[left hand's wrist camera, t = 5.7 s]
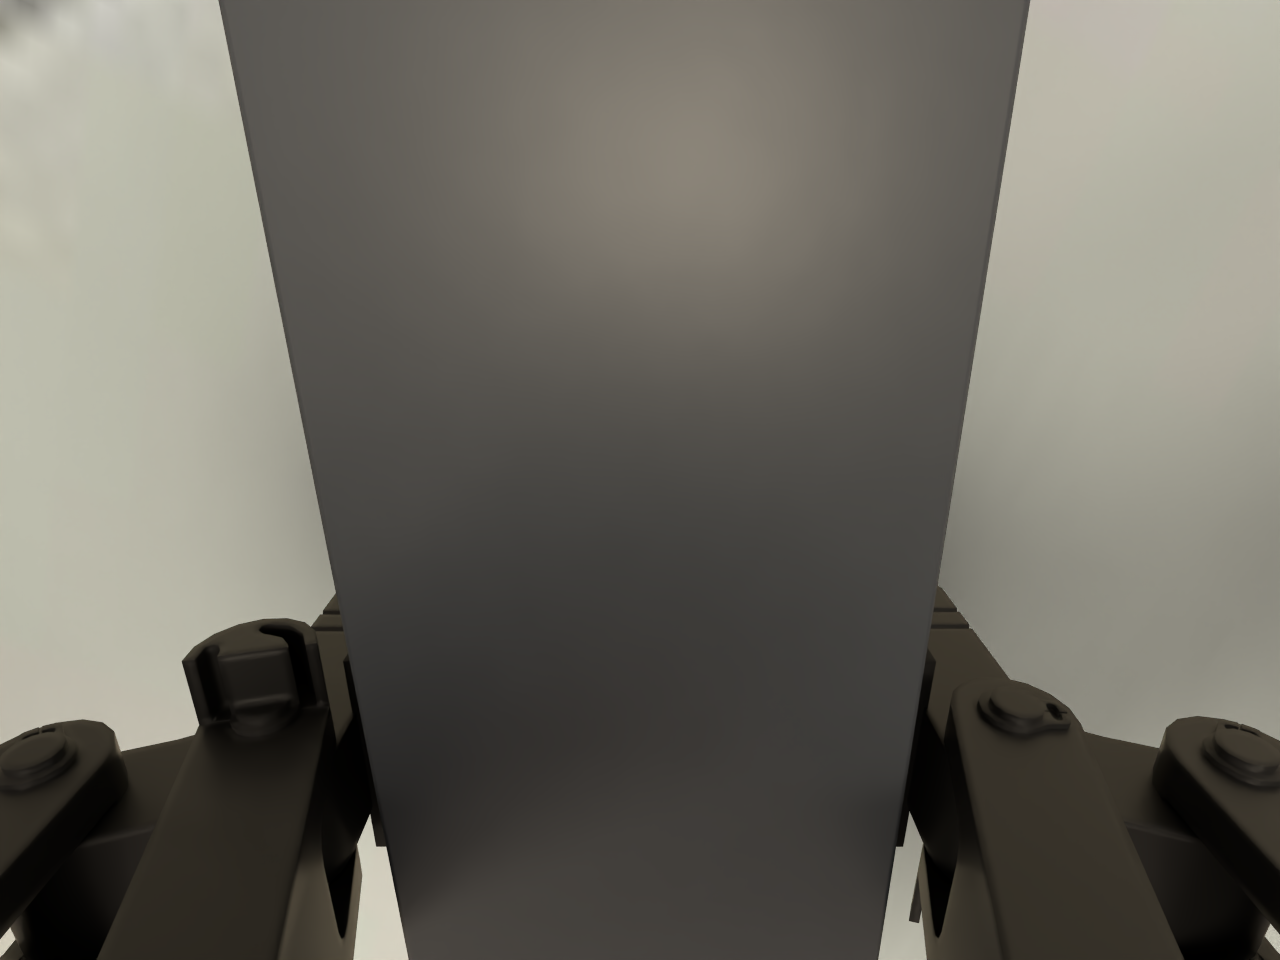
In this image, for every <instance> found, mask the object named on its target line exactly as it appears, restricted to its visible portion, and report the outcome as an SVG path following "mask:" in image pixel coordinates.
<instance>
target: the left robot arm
mask: <svg viewBox="0 0 1280 960" xmlns="http://www.w3.org/2000/svg"><path fill="white" fill-rule="evenodd" d="M182 664H183V668H184V671H185V675H186V678H187V682H188V686H189V689H190V693H191V696H192V700H193V704H194V707H195V711H196V714H197V718H198V722H199V727H198V729H197V732H196V734H195V735H193V736H189V737H186V738H182V739H178V740H174V741H169V742H164V743H160V744H155V745H150V746H145V747H141V748H136V749H131V750H126V751H122V752H121V751H120V748H119V745H118V742H117V739H116V736H115V733H114V731H113V730H112V729H110V728H109V727H108V726H107V725H105V724H104V723H103V722H96V721H89V720H75V721H67V722H59V723H54V724H50V725H45V726H42V727H41V728H39V727H38V728H35V729H32V730H30V731H27V732H24V733H22V734H21V735H19V736H17V737H15V738H13V739H11V740H9V741H7V742H5V743H3V744H1V745H0V939H1V938H2V936H3V935H4V934H5V933H6V932H7V930H8V929H9V928H11V930H12V932H13V934H14V936H15V939H16V940H15V941H14V942H13V943H12V945H11V946H10V947H9V948H8V950H7V951H6V952H5V953H4V955H2V956H1V957H0V960H353V957H354V948H355V938H356V929H357V920H358V910H359V901H360V892H361V882H362V871H361V864H360V858H359V853H358V847H357V843H358V841H359V838H360V836H361V834H362V831H363V829H364V827H365V824H366V822H367V820H368V817H369V815H370V814H371V820H372V825H373V831H374V836H375V842H376V847H382V846H386V842H385V837H384V832H383V827H382V822H381V817H380V812H379V807H378V801H377V796H376V791H375V786H374V781H373V776H372V771H371V766H370V761H369V756H368V751H367V746H366V741H365V736H364V731H363V726H362V721H361V716H360V711H359V706H358V701H357V696H356V691H355V685H354V680H353V675H352V670H351V665H350V660H349V655H348V650H347V645H346V640H345V635H344V630H343V625H342V620H341V615H340V610H339V605H338V600H337V595H336V594H335V595H334V597H333V598H332V599H331V601H330V602H329V603H328V605H327V606H326V607H325V609H324V610H323V615H319V617H318V618H317V620H316V621H315V622H314V624H313V625H312V626H311V627H310V626H309V625H308V624H306V623H305V622H301V621H296V620H292V619H288V618H281V619H262V620H257V621H252V622H248V623H243V624H238V625H236V626H233V627H231V628H228V629H226V630H223V631H221V632H218V633H216V634H214V635H212V636H210V637H209V638H207V639H206V640H204V641H203V642H201V643H200V644H198V645H196V646H195V647H194V648H193V649H192V650H191V651H190V652H189V653H188V655H187V656H186V657H185V658H184V659H183V660H182ZM909 811H910V813H911V815H912V818H913V820H914V822H915V825H916V827H917V829H918V832H919V834H920V836H921V839H922V841H923V847H922V853H921V858H920V863H919V868H918V873H917V879H916V884H915V889H914V894H913V899H912V904H911V911H910V917H909V921H912V922H916V923H919V920H920V915H921V910H922V918H923V927H924V937H925V946H926V955H927V960H1280V954H1279V953H1278V952H1277V951H1276V950H1275V948H1274V947H1273V946H1272V945H1271V944H1270V942H1269V941H1268V940H1267V939H1266V937H1265V934H1266V932H1267V930H1268V928H1269V925H1270V923H1271V925H1272V926H1273V927H1274V928H1275V929H1276V931H1277V932H1278V933H1279V934H1280V741H1279V740H1277V739H1275V738H1273V737H1270V736H1268V735H1266V734H1264V733H1262V732H1260V731H1259V730H1257V729H1255V728H1252V727H1249V726H1246V725H1244V724H1238V723H1237V722H1233V721H1228V720H1224V719H1217V718H1209V717H1200V716H1195V717H1188V718H1181V719H1177V720H1176V721H1174V722H1173V723H1172V724H1171V725H1169V726H1168V727H1167V728H1166V730H1165V733H1164V736H1163V739H1162V742H1161V745H1160V748H1154V747H1150V746H1145V745H1140V744H1135V743H1131V742H1126V741H1121V740H1116V739H1111V738H1107V737H1102V736H1098V735H1095V734H1091V733H1087V732H1084V730H1083V728H1082V726H1081V724H1080V722H1079V721H1078V720H1077V718H1076V717H1075V715H1074V714H1073V713H1072V711H1071V710H1070V709H1069V708H1068V707H1067V706H1065V705H1064V704H1063V703H1061V702H1060V701H1059V700H1057V699H1056V698H1055V697H1053V696H1052V695H1051V694H1048V693H1046V692H1044V691H1042V690H1040V689H1038V688H1035V687H1033V686H1031V685H1029V684H1026V683H1022V682H1018V681H1014V680H1010V679H1009V678H1008V676H1007V675H1006V674H1005V672H1004V671H1003V670H1002V668H1001V667H1000V666H999V664H998V663H997V662H996V660H995V659H994V658H993V656H992V655H991V654H990V652H989V651H988V650H987V648H986V647H985V646H984V644H983V643H982V641H981V640H980V639H979V637H978V636H977V635H976V633H975V632H974V631H973V629H969V624H968V623H967V621H966V620H965V619H964V617H963V616H962V615H961V613H960V612H957V608H956V607H955V605H954V604H953V603H952V601H951V600H950V599H949V597H948V596H947V595H946V593H945V592H944V591H943V589H942V588H940V587H939V586H937V591H936V597H935V603H934V610H933V616H932V622H931V629H930V635H929V641H928V647H927V654H926V660H925V666H924V673H923V679H922V685H921V692H920V698H919V704H918V710H917V717H916V723H915V729H914V736H913V742H912V748H911V755H910V761H909V767H908V774H907V780H906V786H905V792H904V799H903V805H902V811H901V818H900V824H899V830H898V837H897V843H896V847H903V844H904V838H905V833H906V827H907V822H908V816H909Z"/></svg>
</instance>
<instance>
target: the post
mask: <svg viewBox="0 0 1280 960" xmlns="http://www.w3.org/2000/svg"><path fill="white" fill-rule="evenodd" d="M1029 4H1030V0H219V5H220V10H221V15H222V20H223V25H224V30H225V35H226V40H227V45H228V50H229V55H230V60H231V65H232V70H233V75H234V80H235V85H236V90H237V95H238V100H239V106H240V111H241V116H242V121H243V126H244V131H245V136H246V141H247V146H248V151H249V156H250V161H251V166H252V171H253V176H254V181H255V186H256V191H257V196H258V201H259V206H260V211H261V216H262V222H263V227H264V232H265V237H266V242H267V247H268V252H269V257H270V262H271V267H272V272H273V277H274V282H275V287H276V292H277V297H278V302H279V307H280V312H281V317H282V322H283V327H284V332H285V338H286V343H287V348H288V353H289V358H290V363H291V368H292V373H293V378H294V383H295V388H296V393H297V398H298V403H299V408H300V413H301V418H302V423H303V428H304V433H305V438H306V443H307V448H308V454H309V459H310V464H311V469H312V474H313V479H314V484H315V489H316V494H317V499H318V504H319V509H320V514H321V519H322V524H323V529H324V534H325V539H326V544H327V549H328V554H329V559H330V564H331V570H332V575H333V580H334V585H335V590H336V595H337V600H338V605H339V610H340V615H341V620H342V625H343V630H344V635H345V640H346V645H347V650H348V655H349V660H350V665H351V670H352V675H353V680H354V685H355V691H356V696H357V701H358V706H359V711H360V716H361V721H362V726H363V731H364V736H365V741H366V746H367V751H368V756H369V761H370V766H371V771H372V776H373V781H374V786H375V791H376V796H377V801H378V807H379V812H380V817H381V822H382V827H383V832H384V837H385V842H386V847H387V852H388V857H389V862H390V867H391V872H392V877H393V882H394V887H395V892H396V897H397V902H398V907H399V912H400V917H401V923H402V928H403V933H404V938H405V943H406V948H407V953H408V958H409V960H878V956H879V950H880V944H881V937H882V931H883V925H884V919H885V912H886V906H887V900H888V893H889V887H890V881H891V874H892V868H893V862H894V856H895V849H896V843H897V837H898V830H899V824H900V818H901V811H902V805H903V799H904V792H905V786H906V780H907V774H908V767H909V761H910V755H911V748H912V742H913V736H914V729H915V723H916V717H917V710H918V704H919V698H920V692H921V685H922V679H923V673H924V666H925V660H926V654H927V647H928V641H929V635H930V629H931V622H932V616H933V610H934V603H935V597H936V591H937V584H938V578H939V572H940V565H941V559H942V553H943V547H944V540H945V534H946V528H947V521H948V515H949V509H950V502H951V496H952V490H953V484H954V477H955V471H956V465H957V458H958V452H959V446H960V439H961V433H962V427H963V420H964V414H965V408H966V402H967V395H968V389H969V383H970V376H971V370H972V364H973V357H974V351H975V345H976V338H977V332H978V326H979V320H980V313H981V307H982V301H983V294H984V288H985V282H986V275H987V269H988V263H989V257H990V250H991V244H992V238H993V231H994V225H995V219H996V212H997V206H998V200H999V193H1000V187H1001V181H1002V175H1003V168H1004V162H1005V156H1006V149H1007V143H1008V137H1009V130H1010V124H1011V118H1012V112H1013V105H1014V99H1015V93H1016V86H1017V80H1018V74H1019V67H1020V61H1021V55H1022V48H1023V42H1024V36H1025V30H1026V23H1027V17H1028V11H1029Z"/></svg>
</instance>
